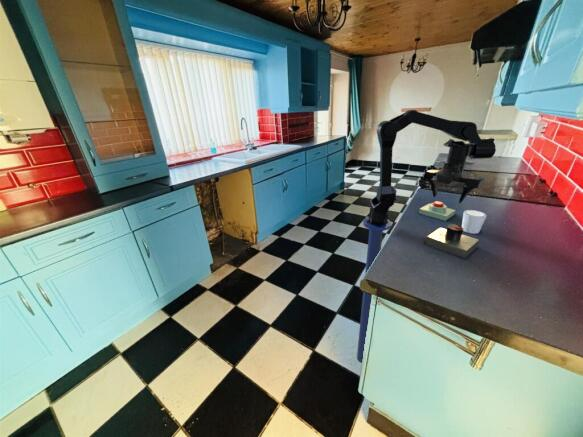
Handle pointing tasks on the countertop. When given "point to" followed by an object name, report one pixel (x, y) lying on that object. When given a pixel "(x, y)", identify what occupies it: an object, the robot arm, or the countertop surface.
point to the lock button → (438, 204)
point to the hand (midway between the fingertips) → (446, 199)
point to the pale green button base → (437, 212)
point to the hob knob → (454, 232)
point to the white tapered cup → (473, 221)
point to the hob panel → (452, 243)
